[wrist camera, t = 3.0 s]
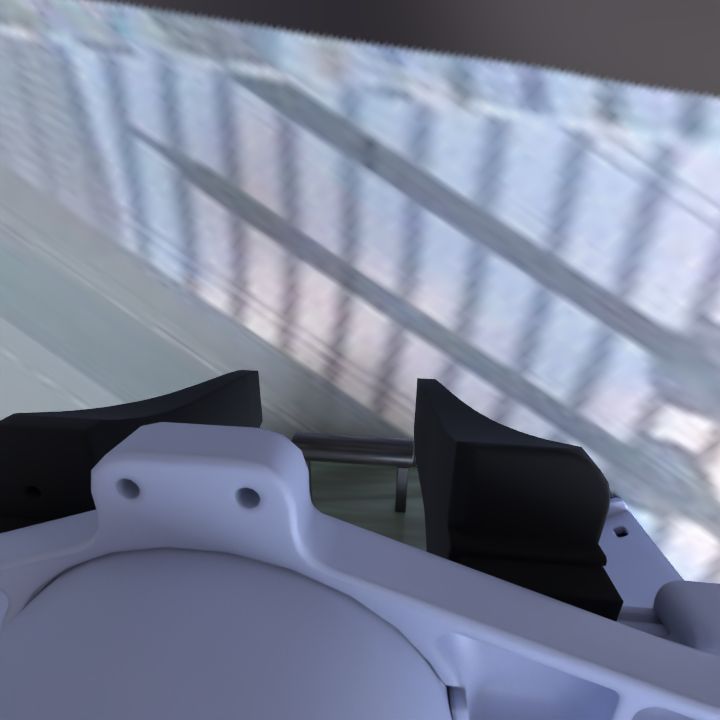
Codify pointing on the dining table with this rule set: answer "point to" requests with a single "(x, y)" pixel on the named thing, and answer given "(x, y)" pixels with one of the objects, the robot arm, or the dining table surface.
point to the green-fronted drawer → (366, 483)
